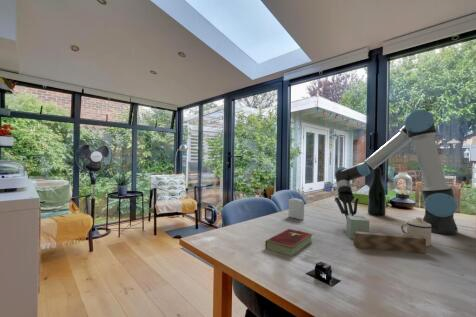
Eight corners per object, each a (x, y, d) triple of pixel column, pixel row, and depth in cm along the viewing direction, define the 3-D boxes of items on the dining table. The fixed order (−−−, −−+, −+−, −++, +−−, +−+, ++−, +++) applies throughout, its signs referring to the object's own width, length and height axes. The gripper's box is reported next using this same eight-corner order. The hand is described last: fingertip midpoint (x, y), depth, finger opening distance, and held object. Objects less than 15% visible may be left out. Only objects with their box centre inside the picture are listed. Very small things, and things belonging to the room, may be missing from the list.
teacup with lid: (435, 245, 102) (436, 219, 102) (424, 248, 98) (425, 221, 98) (406, 236, 113) (406, 213, 113) (395, 239, 109) (395, 214, 109)
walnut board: (421, 250, 95) (421, 236, 95) (425, 253, 92) (426, 238, 92) (353, 244, 100) (354, 231, 100) (355, 247, 98) (356, 233, 98)
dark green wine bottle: (368, 212, 165) (369, 166, 165) (385, 214, 159) (386, 167, 159) (366, 214, 156) (367, 166, 156) (384, 217, 150) (386, 167, 150)
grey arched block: (287, 216, 147) (287, 197, 147) (291, 215, 150) (291, 197, 150) (300, 220, 139) (301, 200, 139) (304, 219, 142) (305, 199, 142)
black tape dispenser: (299, 274, 75) (300, 260, 75) (312, 268, 79) (313, 254, 79) (335, 292, 65) (336, 276, 65) (348, 284, 70) (348, 269, 70)
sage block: (363, 234, 115) (363, 216, 115) (368, 239, 107) (369, 220, 107) (346, 232, 117) (346, 215, 117) (350, 238, 109) (351, 219, 109)
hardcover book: (265, 249, 94) (265, 239, 94) (288, 236, 111) (288, 227, 111) (292, 257, 87) (292, 246, 87) (312, 242, 103) (312, 233, 103)
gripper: (354, 193, 138) (363, 229, 122) (331, 192, 141) (337, 227, 125) (357, 185, 133) (366, 222, 117) (333, 184, 136) (339, 220, 119)
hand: (351, 225), depth 121 cm, fingers closed
